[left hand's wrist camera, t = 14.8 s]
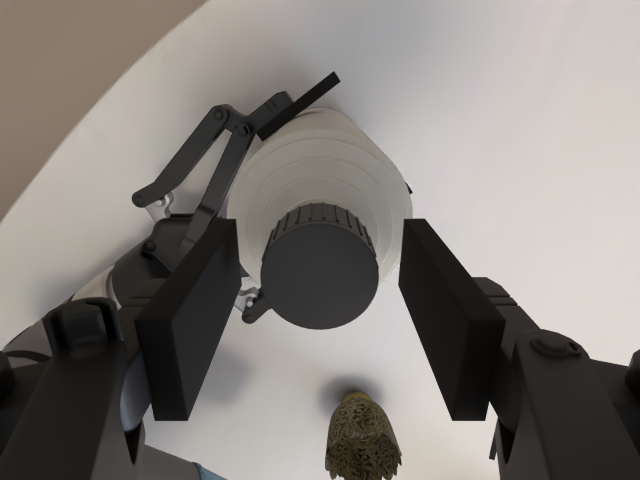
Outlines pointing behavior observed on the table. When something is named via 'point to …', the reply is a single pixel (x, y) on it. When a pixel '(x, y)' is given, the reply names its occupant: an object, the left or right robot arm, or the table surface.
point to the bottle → (319, 185)
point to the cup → (361, 441)
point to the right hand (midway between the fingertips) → (372, 133)
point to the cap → (319, 267)
